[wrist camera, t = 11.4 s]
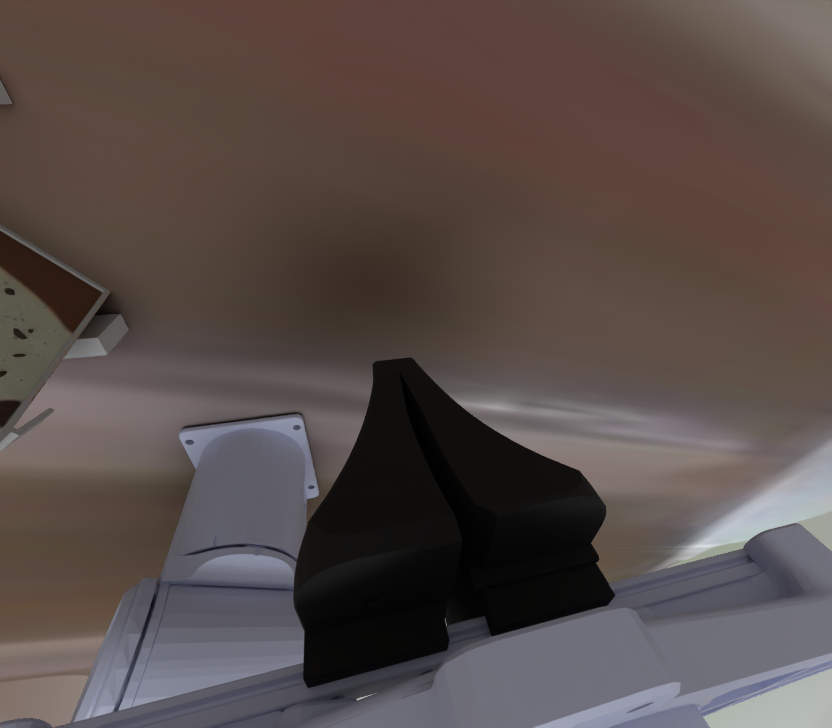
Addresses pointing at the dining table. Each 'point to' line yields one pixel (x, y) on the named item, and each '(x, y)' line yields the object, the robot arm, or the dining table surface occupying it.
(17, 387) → the food container
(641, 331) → the dining table surface
